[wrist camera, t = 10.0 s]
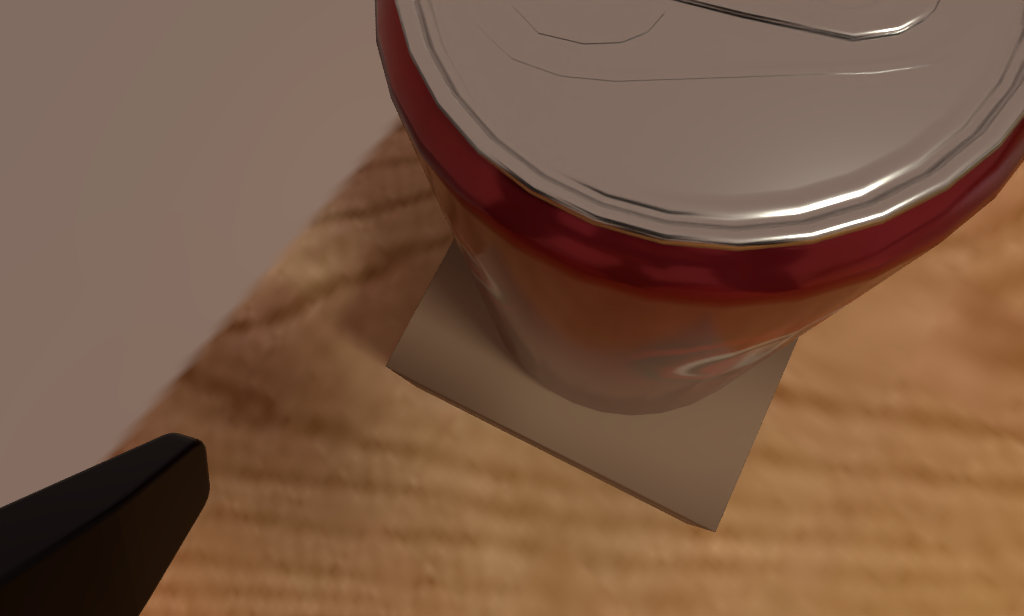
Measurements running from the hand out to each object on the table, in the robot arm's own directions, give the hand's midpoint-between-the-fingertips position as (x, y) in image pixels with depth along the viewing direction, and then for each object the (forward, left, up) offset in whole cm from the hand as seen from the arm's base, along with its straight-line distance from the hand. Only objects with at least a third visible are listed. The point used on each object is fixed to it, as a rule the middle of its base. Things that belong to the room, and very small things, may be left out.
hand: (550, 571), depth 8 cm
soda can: (+6, +1, -9) cm, 11 cm away
